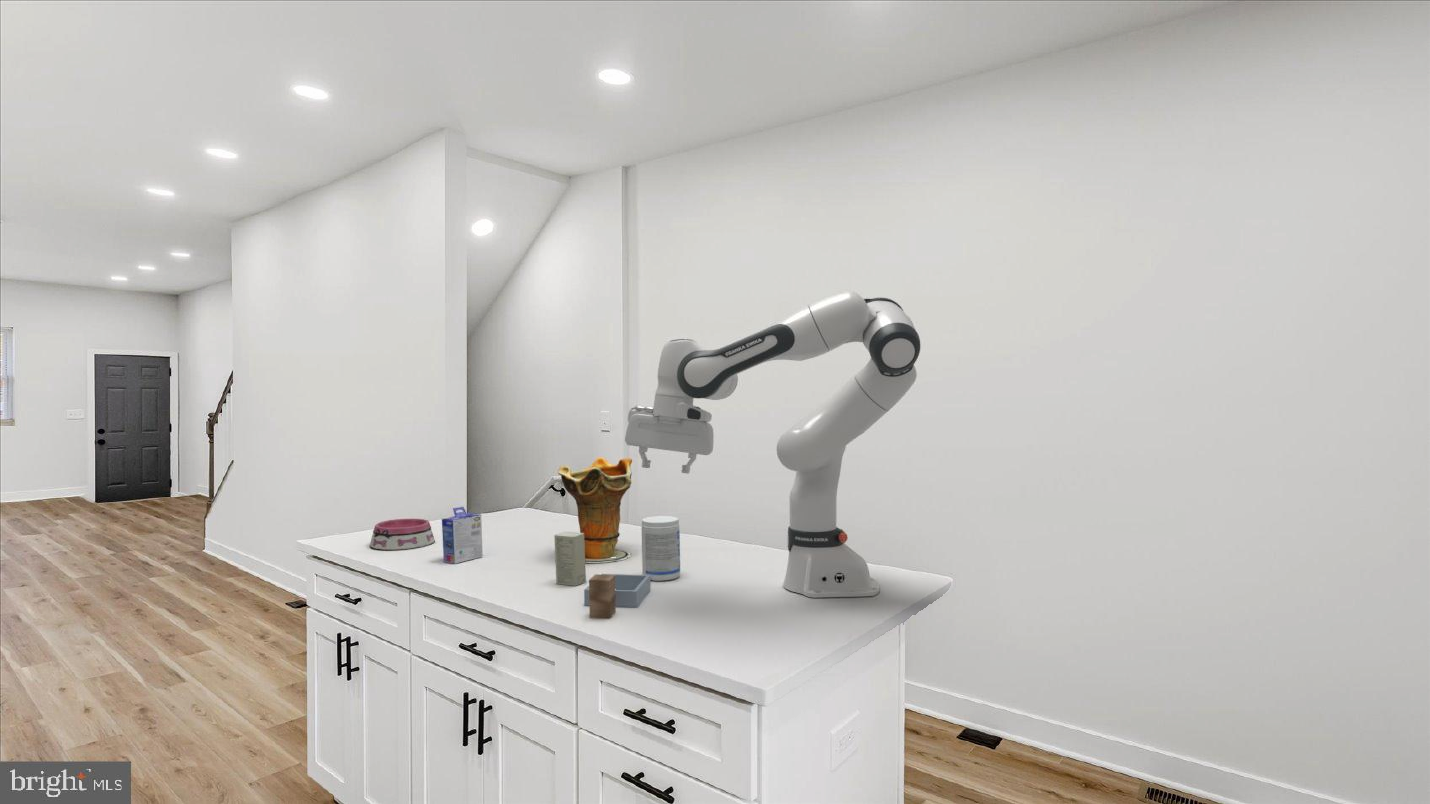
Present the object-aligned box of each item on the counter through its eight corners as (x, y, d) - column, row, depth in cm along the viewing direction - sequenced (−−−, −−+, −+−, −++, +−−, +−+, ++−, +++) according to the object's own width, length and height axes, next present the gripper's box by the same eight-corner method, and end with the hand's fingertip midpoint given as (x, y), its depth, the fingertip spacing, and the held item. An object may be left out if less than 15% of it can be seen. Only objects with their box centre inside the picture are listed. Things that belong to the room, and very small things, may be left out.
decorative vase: (543, 562, 199) (545, 459, 200) (583, 548, 221) (584, 455, 222) (614, 568, 193) (615, 461, 194) (647, 552, 215) (648, 457, 216)
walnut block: (615, 611, 158) (615, 574, 157) (610, 618, 153) (609, 580, 153) (595, 611, 158) (595, 574, 158) (589, 617, 154) (589, 579, 153)
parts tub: (650, 589, 174) (650, 575, 174) (636, 607, 160) (636, 591, 160) (602, 588, 176) (601, 573, 175) (584, 605, 162) (584, 589, 162)
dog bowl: (448, 541, 230) (447, 519, 230) (400, 554, 213) (399, 530, 213) (405, 536, 238) (405, 515, 238) (355, 548, 221) (355, 525, 221)
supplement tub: (687, 578, 184) (686, 519, 184) (653, 584, 179) (653, 524, 178) (668, 569, 192) (667, 513, 192) (635, 575, 187) (634, 517, 186)
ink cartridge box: (470, 554, 211) (470, 504, 211) (483, 557, 208) (483, 506, 208) (441, 562, 203) (440, 509, 202) (454, 564, 200) (453, 511, 199)
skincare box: (586, 582, 181) (585, 533, 181) (575, 586, 177) (575, 536, 177) (565, 579, 184) (564, 531, 183) (554, 583, 180) (553, 534, 179)
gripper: (625, 404, 167) (617, 464, 166) (712, 414, 162) (705, 476, 162) (634, 405, 173) (626, 464, 172) (718, 415, 168) (711, 475, 168)
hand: (665, 470), depth 167 cm, fingers open, 8 cm apart
